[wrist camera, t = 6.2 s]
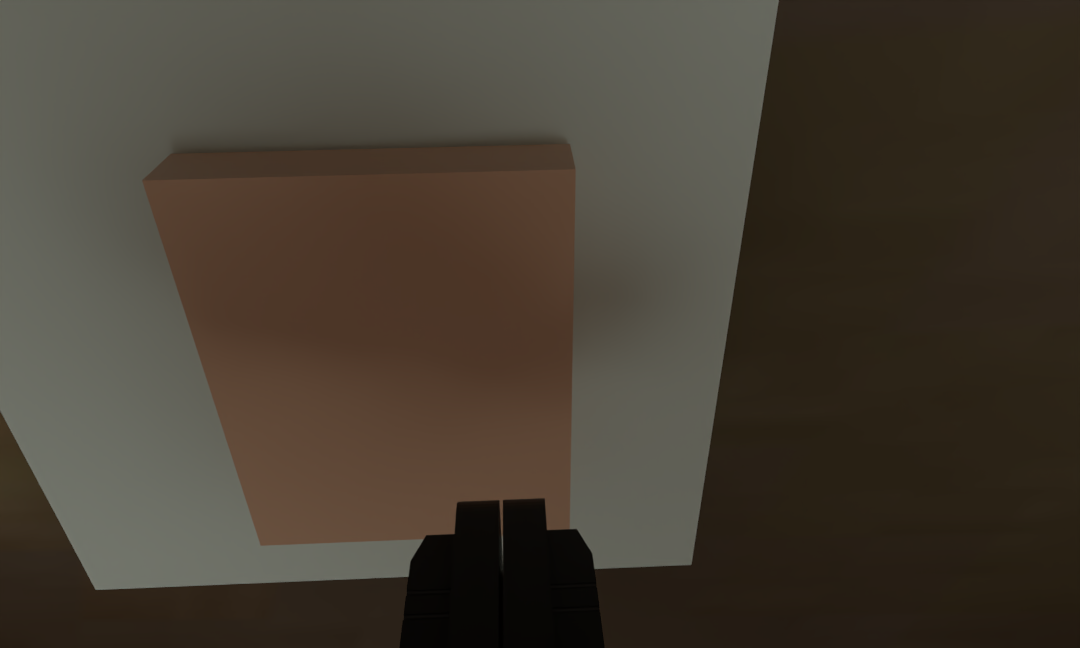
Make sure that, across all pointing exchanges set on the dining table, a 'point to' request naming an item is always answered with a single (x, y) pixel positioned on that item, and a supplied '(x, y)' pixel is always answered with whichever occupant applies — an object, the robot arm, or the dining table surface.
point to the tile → (380, 329)
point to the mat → (361, 123)
